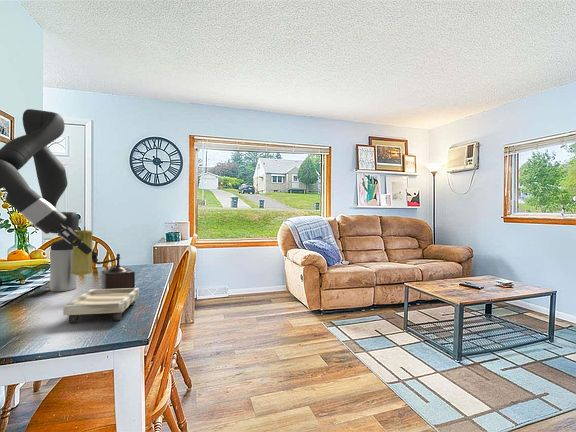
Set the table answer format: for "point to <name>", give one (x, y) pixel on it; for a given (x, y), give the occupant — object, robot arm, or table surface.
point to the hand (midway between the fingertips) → (88, 251)
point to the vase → (82, 255)
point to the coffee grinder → (115, 275)
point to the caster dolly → (101, 303)
